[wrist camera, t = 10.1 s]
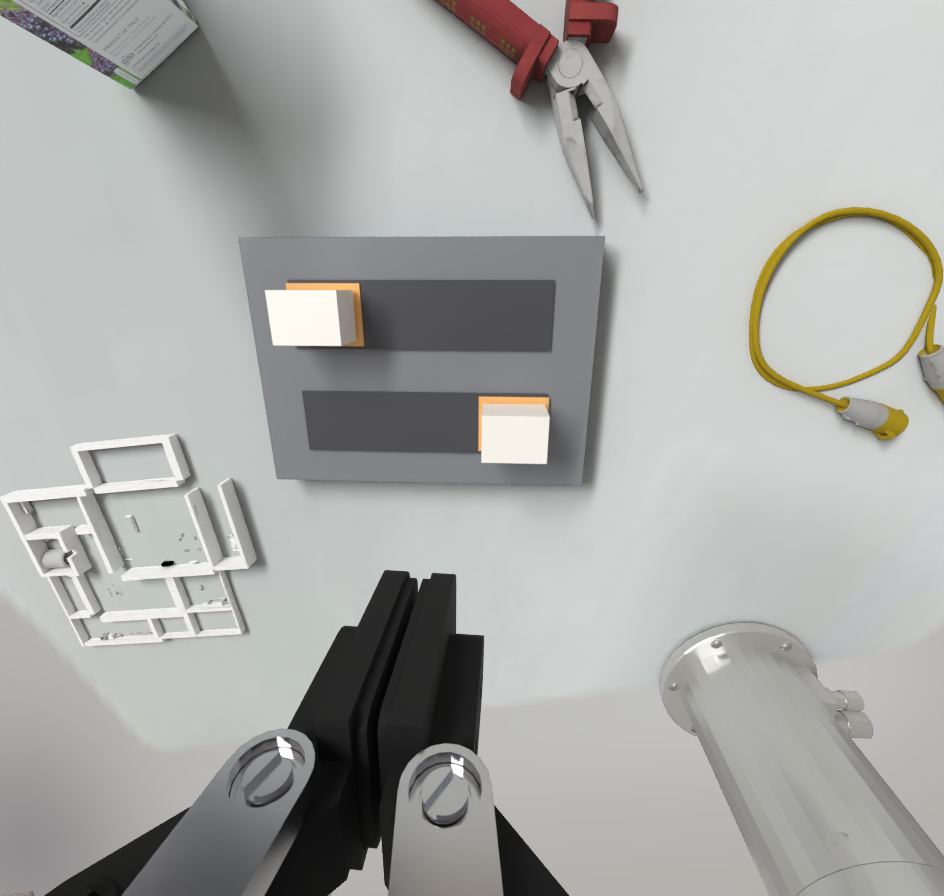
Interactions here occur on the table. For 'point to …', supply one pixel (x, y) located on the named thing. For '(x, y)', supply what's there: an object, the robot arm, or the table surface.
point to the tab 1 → (311, 317)
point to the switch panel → (429, 354)
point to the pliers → (559, 72)
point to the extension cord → (884, 421)
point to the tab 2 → (515, 433)
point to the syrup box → (108, 31)
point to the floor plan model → (53, 559)
